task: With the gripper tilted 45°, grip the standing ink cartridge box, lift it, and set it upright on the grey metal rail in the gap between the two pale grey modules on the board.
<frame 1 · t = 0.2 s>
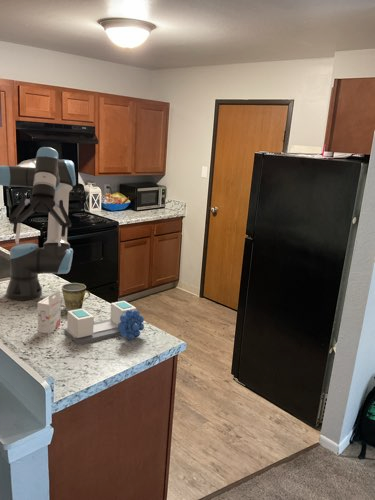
hand: (38, 243, 141), 35 cm above the counter, tool tilted 35°, fingers open, 13 cm apart
ceramic cup: (76, 309, 180), on the counter
rail board: (102, 331, 161), on the counter
ink cartridge box: (49, 329, 160), on the counter
grapes: (132, 340, 156), on the counter
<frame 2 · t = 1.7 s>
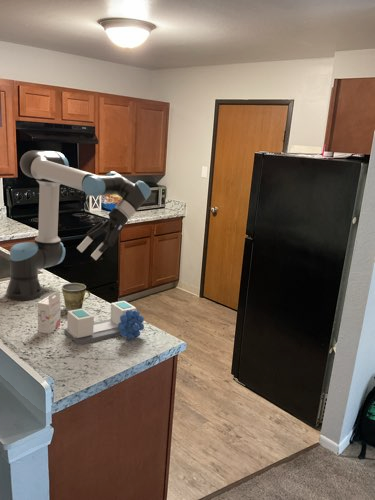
hand: (85, 254, 163), 28 cm above the counter, tool tilted 45°, fingers open, 13 cm apart
nothing on the counter moved.
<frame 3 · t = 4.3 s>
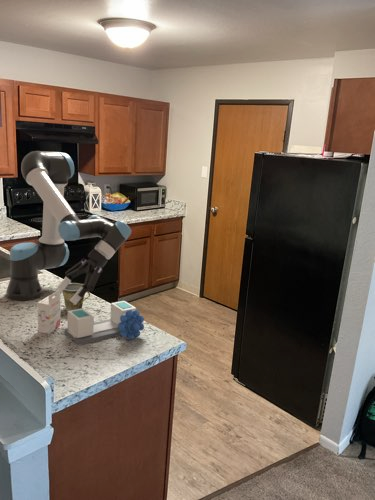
hand: (64, 297, 160), 12 cm above the counter, tool tilted 45°, fingers open, 13 cm apart
nothing on the counter moved.
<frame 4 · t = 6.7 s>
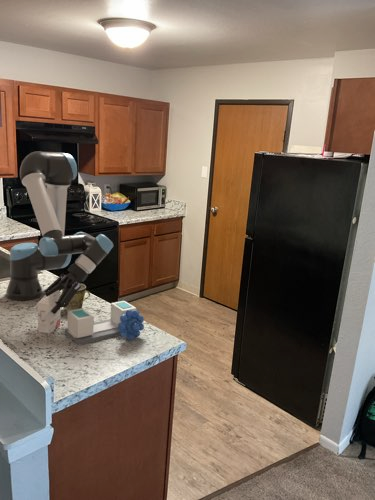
hand: (40, 314, 157), 6 cm above the counter, tool tilted 45°, fingers closed on ink cartridge box, 9 cm apart
ink cartridge box: (49, 329, 160), on the counter, touching gripper
everything else where it was.
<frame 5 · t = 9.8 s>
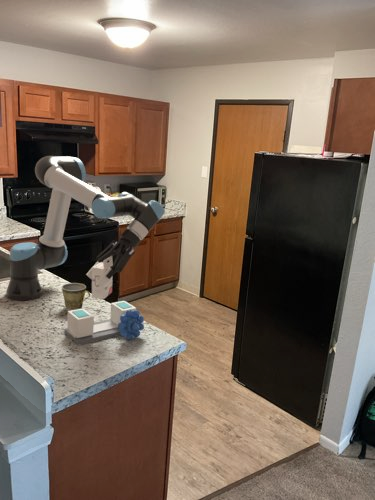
hand: (94, 280, 154), 21 cm above the counter, tool tilted 45°, fingers closed on ink cartridge box, 9 cm apart
ink cartridge box: (101, 295, 158), point 15 cm above the counter, touching gripper
everything else where it was.
when the fingers open (10 cm above the counter, at t = 12.9 s): ink cartridge box drops 1 cm, resting on rail board.
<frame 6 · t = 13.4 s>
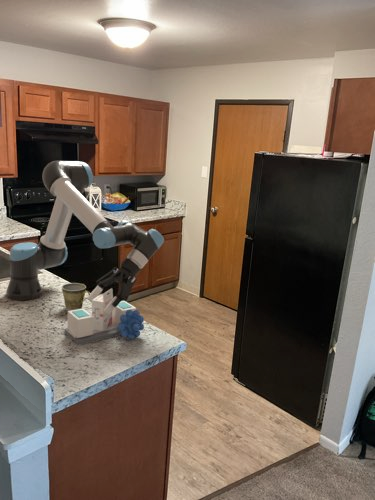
hand: (97, 306, 157), 11 cm above the counter, tool tilted 45°, fingers open, 13 cm apart
ink cartridge box: (101, 326, 161), point 2 cm above the counter, touching rail board
everything else where it was.
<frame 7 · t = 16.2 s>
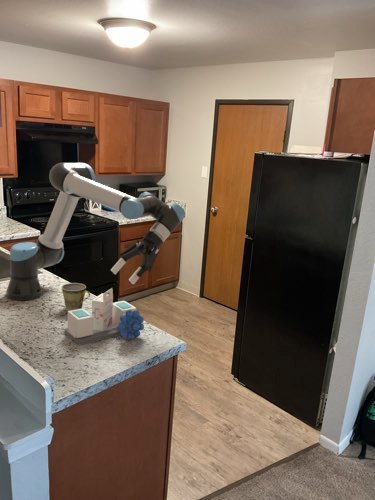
hand: (121, 277, 161), 21 cm above the counter, tool tilted 45°, fingers open, 13 cm apart
nothing on the counter moved.
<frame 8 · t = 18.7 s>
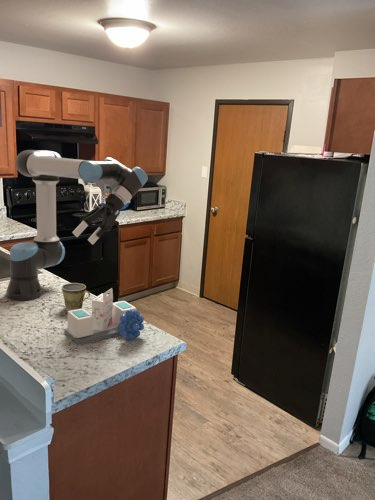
hand: (82, 238, 162), 34 cm above the counter, tool tilted 45°, fingers open, 13 cm apart
nothing on the counter moved.
at the end: ink cartridge box 0.5 cm off-centre on the rail board, point 1.8 cm above the rail board's base; ink cartridge box tilted 0°; the gripper is holding nothing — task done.
